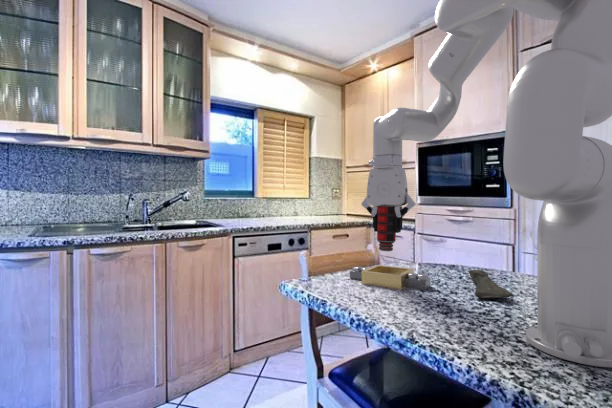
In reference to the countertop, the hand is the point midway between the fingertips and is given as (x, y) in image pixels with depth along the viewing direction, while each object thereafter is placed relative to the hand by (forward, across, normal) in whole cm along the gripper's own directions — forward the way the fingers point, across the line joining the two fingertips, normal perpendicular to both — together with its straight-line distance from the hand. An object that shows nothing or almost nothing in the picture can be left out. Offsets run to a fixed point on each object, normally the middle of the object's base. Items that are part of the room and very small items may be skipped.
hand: (387, 231), depth 88 cm
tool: (+15, +24, +9) cm, 30 cm away
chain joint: (+14, 0, 0) cm, 14 cm away
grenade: (+5, -1, 0) cm, 5 cm away
